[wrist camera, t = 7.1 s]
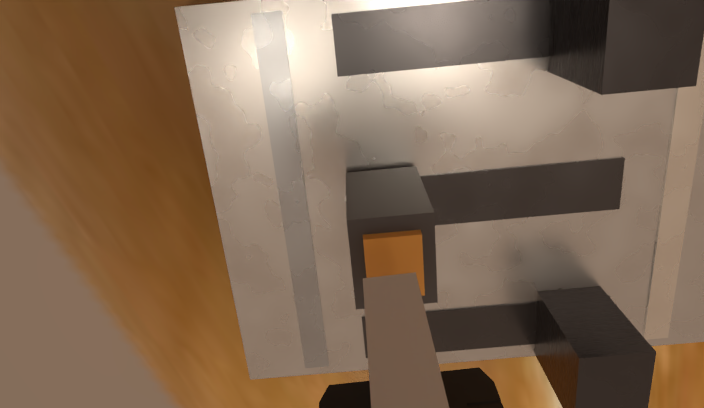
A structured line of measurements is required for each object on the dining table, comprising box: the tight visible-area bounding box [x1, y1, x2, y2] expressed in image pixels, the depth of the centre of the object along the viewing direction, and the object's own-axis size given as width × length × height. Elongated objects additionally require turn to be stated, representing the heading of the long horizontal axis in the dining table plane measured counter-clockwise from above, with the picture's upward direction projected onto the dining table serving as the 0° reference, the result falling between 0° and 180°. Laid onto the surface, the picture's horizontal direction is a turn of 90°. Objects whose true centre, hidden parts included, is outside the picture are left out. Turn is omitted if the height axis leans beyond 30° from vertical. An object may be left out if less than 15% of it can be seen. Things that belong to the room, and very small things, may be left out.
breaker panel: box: [174, 0, 704, 408], centre depth 23 cm, size 18×24×7 cm
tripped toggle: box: [346, 166, 438, 310], centre depth 21 cm, size 4×3×5 cm
